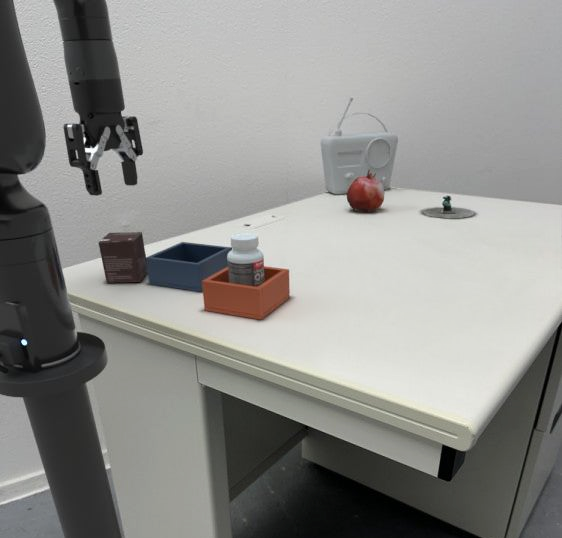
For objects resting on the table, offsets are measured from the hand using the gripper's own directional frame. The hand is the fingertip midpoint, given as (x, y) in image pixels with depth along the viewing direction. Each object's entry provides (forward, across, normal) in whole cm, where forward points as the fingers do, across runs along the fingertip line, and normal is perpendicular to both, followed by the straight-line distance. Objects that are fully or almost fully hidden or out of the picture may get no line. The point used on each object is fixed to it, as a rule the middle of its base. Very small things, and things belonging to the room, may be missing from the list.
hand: (114, 189), depth 89 cm
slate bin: (+15, -4, +11) cm, 19 cm away
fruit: (+16, -65, +22) cm, 70 cm away
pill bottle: (+14, +3, +26) cm, 30 cm away
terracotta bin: (+15, +3, +26) cm, 30 cm away
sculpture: (+16, -69, +42) cm, 82 cm away
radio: (+16, -89, +11) cm, 92 cm away
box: (+15, 0, 0) cm, 15 cm away
